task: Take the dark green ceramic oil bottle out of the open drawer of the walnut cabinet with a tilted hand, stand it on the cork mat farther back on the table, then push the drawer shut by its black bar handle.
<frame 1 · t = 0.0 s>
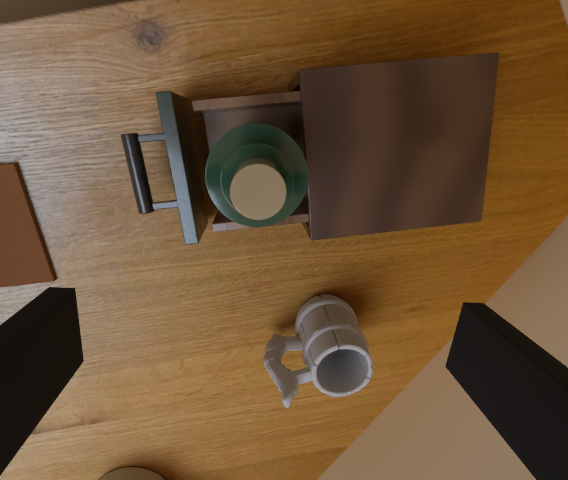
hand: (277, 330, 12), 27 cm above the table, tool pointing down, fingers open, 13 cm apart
oil bottle: (255, 159, 34), point 2 cm above the table, touching drawer
cabinet: (366, 146, 36), on the table
drawer: (235, 163, 32), point 4 cm above the table, slide at 10.0 cm, touching oil bottle
mug: (307, 322, 43), on the table
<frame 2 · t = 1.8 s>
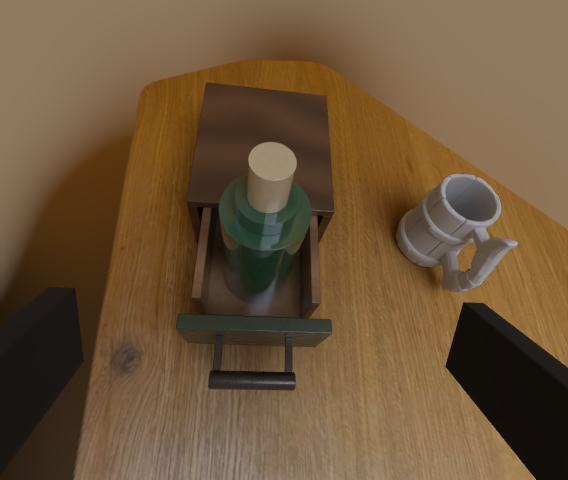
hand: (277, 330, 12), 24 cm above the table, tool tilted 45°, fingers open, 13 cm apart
oil bottle: (256, 273, 35), point 2 cm above the table, touching drawer
cabinet: (259, 190, 43), on the table
drawer: (256, 283, 32), point 4 cm above the table, slide at 10.0 cm, touching oil bottle
mug: (427, 257, 42), on the table
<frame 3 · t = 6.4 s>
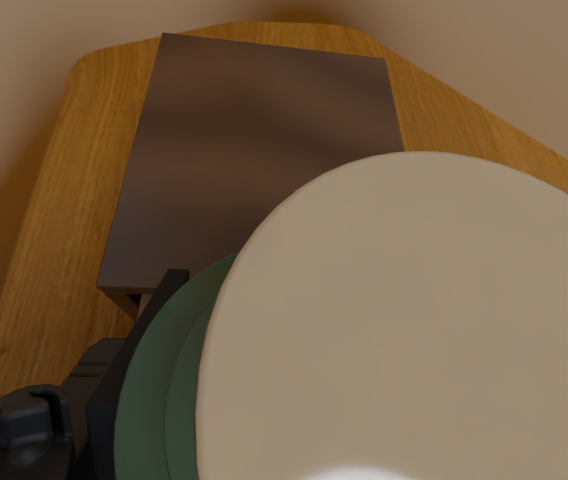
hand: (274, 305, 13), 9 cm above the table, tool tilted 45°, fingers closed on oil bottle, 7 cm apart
oil bottle: (261, 407, 18), point 2 cm above the table, touching drawer, gripper
cabinet: (264, 226, 25), on the table
drawer: (263, 455, 15), point 4 cm above the table, slide at 10.0 cm, touching oil bottle
when the fingers open (7 cm above the table, at t = 17.4 s): oil bottle stays where it is, resting on cork mat.
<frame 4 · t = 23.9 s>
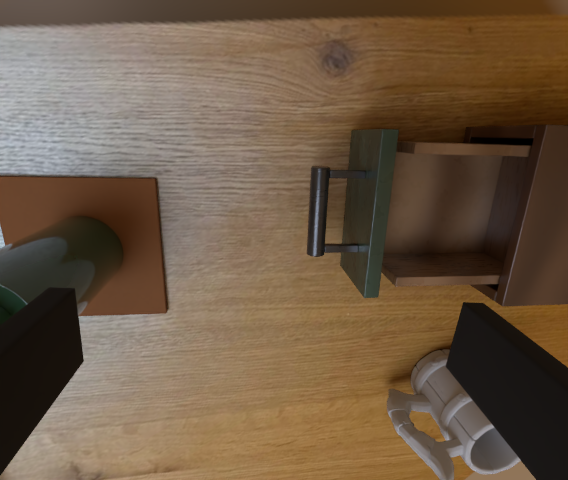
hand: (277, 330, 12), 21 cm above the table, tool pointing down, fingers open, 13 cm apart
oil bottle: (84, 251, 30), resting on cork mat
cabinet: (525, 201, 34), on the table
drawer: (417, 210, 28), point 4 cm above the table, slide at 10.0 cm
mug: (421, 376, 40), on the table
cork mat: (88, 249, 31), on the table
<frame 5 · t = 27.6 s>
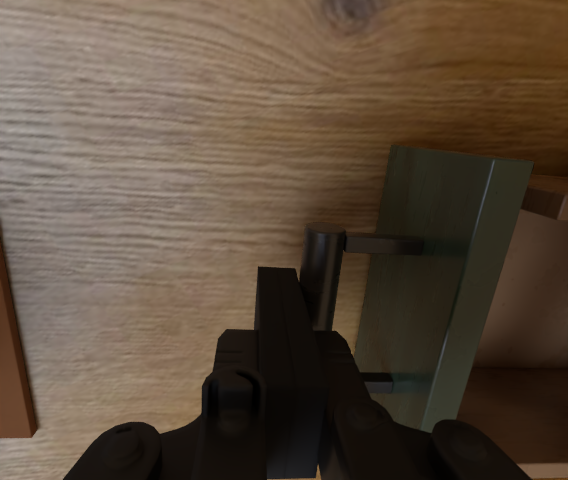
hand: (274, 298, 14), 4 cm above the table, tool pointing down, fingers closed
drawer: (512, 311, 14), point 4 cm above the table, slide at 9.1 cm, touching gripper
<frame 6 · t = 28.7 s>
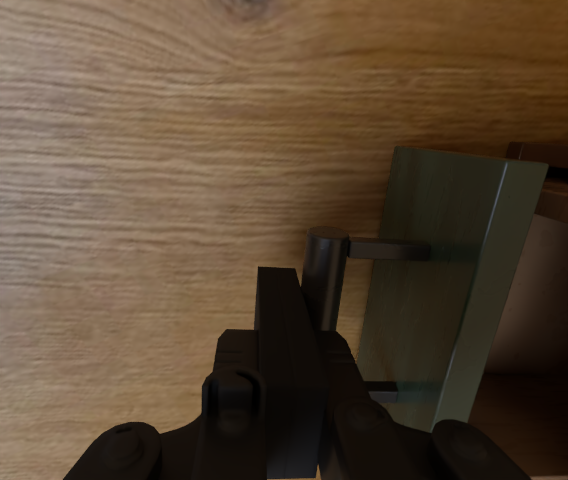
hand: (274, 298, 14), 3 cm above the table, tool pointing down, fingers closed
drawer: (520, 317, 14), point 4 cm above the table, slide at 4.8 cm, touching gripper
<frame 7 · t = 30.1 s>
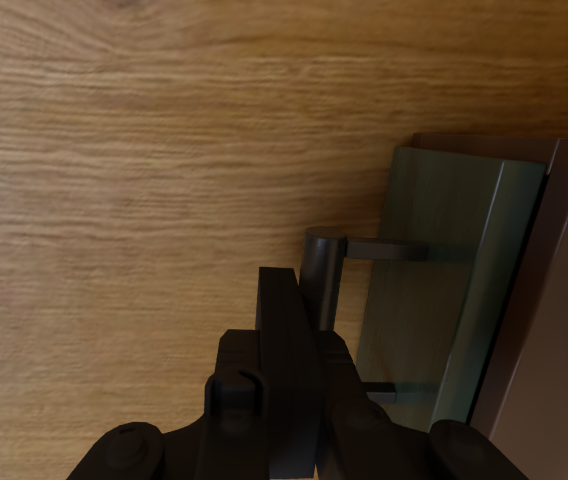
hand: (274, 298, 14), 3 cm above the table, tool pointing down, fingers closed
cabinet: (527, 277, 18), on the table
drawer: (520, 319, 14), point 4 cm above the table, slide at 0.0 cm, touching cabinet, gripper
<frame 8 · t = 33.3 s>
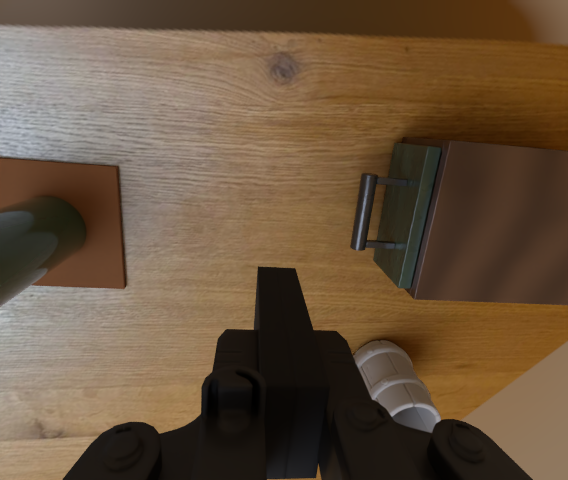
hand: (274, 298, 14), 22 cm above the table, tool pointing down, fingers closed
oil bottle: (51, 227, 34), resting on cork mat
cabinet: (458, 208, 37), on the table
drawer: (447, 215, 33), point 4 cm above the table, slide at 0.0 cm, touching cabinet
mug: (360, 363, 43), on the table
cork mat: (55, 226, 34), on the table
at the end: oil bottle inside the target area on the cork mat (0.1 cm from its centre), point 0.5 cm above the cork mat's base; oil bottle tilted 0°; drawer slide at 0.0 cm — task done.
